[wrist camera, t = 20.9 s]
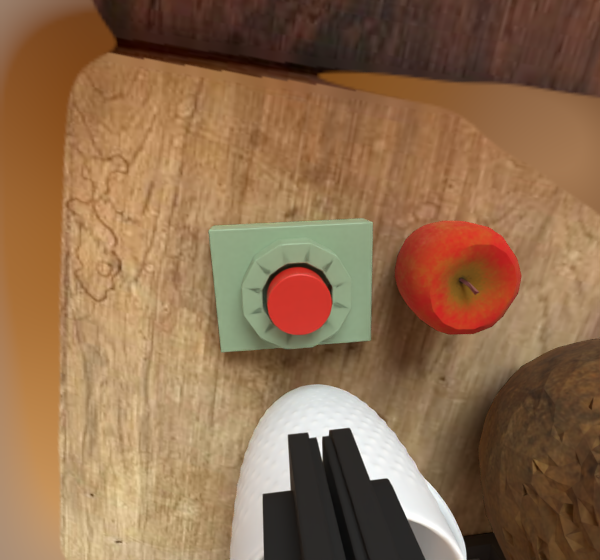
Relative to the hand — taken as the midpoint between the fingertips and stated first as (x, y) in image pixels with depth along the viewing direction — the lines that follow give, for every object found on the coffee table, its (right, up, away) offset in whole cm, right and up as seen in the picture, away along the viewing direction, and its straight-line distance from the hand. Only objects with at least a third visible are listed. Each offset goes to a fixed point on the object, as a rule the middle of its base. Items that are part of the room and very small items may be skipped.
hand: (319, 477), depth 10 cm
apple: (+8, +7, +17) cm, 20 cm away
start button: (-1, +4, +12) cm, 13 cm away
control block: (-1, +5, +16) cm, 17 cm away
